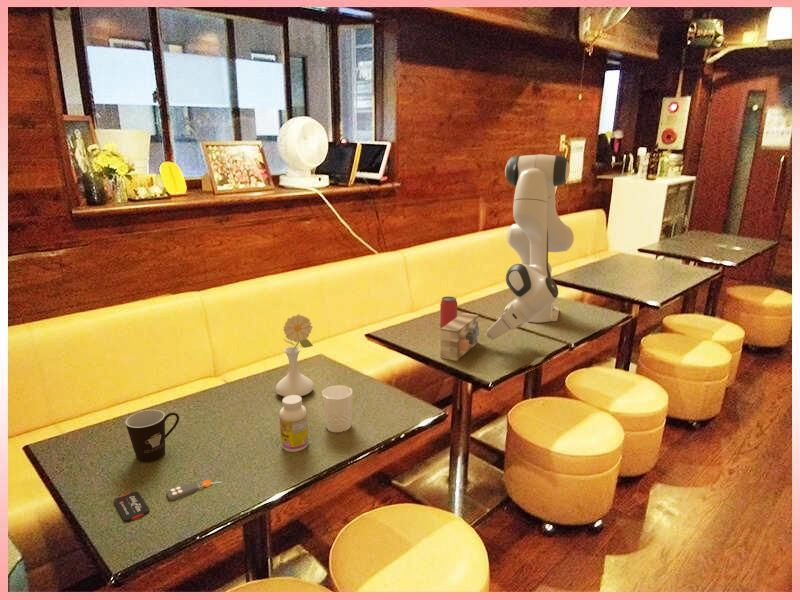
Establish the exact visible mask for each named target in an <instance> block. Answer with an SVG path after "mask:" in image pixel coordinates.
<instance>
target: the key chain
mask: <svg viewBox="0 0 800 600" xmlns="http://www.w3.org/2000/svg"><path fill="white" fill-rule="evenodd" d="M216 484H223V482H222V480H221V481H211V480H209V479H207V480H204V481H202V483H201V485H199V484H197V483H194V482H193V483H188V484H185V485H181V486H177V487H175V488H171V489H169V490H167V491H166V497H167V499H168V500H169V501H170V502H173V501H176V500H179V499H181V498H184V497H186V496H188V495H191V494H193V493H196V492H197V491H198V490H199V488H209V487H211V485H216Z"/></svg>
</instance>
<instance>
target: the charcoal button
mask: <svg viewBox="0 0 800 600" xmlns="http://www.w3.org/2000/svg"><path fill="white" fill-rule="evenodd" d="M466 339H467V340H469V344H471V345H473V344H474V343H475V342H476V334H474V333H468V334H467V335H466Z"/></svg>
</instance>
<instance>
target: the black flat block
mask: <svg viewBox="0 0 800 600" xmlns="http://www.w3.org/2000/svg"><path fill="white" fill-rule="evenodd" d="M113 504H114V506H115V508H116V510H117V512H118V513H119V515H120V517H121V519H122V520H123V522H126V523H127V522H131V521H135V520H137V519H140V518H142V517H144V516H145V515H148V513H150V508H149V507H148V505H147V504H146V502H145V500H144V498H143V497H142V495H141V494H140V492H139V491H133V492H128V493H126V494H122V495H120V496H119V497H117V498H115V499H113Z"/></svg>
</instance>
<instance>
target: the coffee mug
mask: <svg viewBox="0 0 800 600" xmlns="http://www.w3.org/2000/svg"><path fill="white" fill-rule="evenodd" d="M171 416H175V417H176V421H175V422H174V424H173V425H172V427H171V428H170V429H169V430H168V432H167V433H166V420H168V418H169V417H171ZM179 421H180V416H179V414H178V413H176V412H169V413H167V414H166V413H165V412H164V411H162V410H160V409H145V410H141V411H137V412H135V413H133V414H131V415H130V416H128V417H127V418H125V422H124V423H125V427H126V430H127V432H128V436H129V438H130V443H131V445H132V449H133V451H134V453H135V454H134V455H135V457H136V460H137V462H139V463H141V464H142V463H143V464H145V463H153V462H156V461H158V460H160V459H162V458H163V457H164V456H165V455H166V438H168V437H169V436H170V435H171V433H173V431H174V430H175V429H176V427H177V425H178V423H179Z"/></svg>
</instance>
